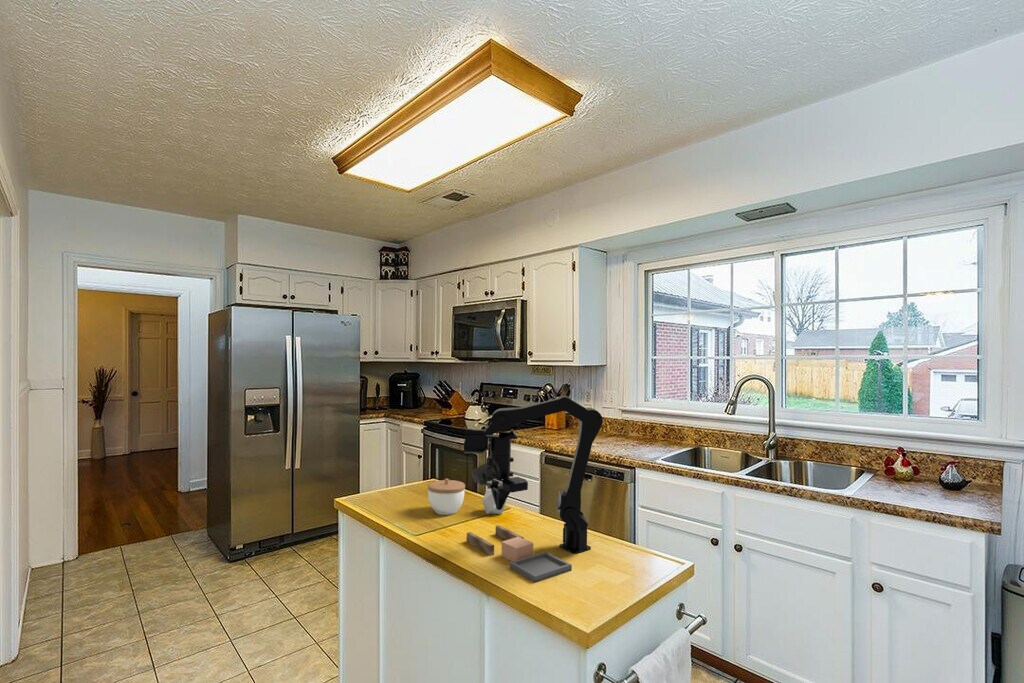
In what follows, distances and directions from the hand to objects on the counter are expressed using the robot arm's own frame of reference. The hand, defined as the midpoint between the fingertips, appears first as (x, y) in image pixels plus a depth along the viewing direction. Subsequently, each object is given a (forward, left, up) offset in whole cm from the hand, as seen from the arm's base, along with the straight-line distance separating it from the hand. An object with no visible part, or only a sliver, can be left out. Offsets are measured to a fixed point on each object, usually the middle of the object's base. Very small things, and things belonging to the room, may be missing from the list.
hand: (498, 509), depth 142 cm
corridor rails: (+2, 0, -10) cm, 10 cm away
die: (+25, -16, -11) cm, 32 cm away
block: (-9, 0, -11) cm, 14 cm away
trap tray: (-18, 0, -10) cm, 21 cm away
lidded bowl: (+35, -3, -11) cm, 37 cm away
